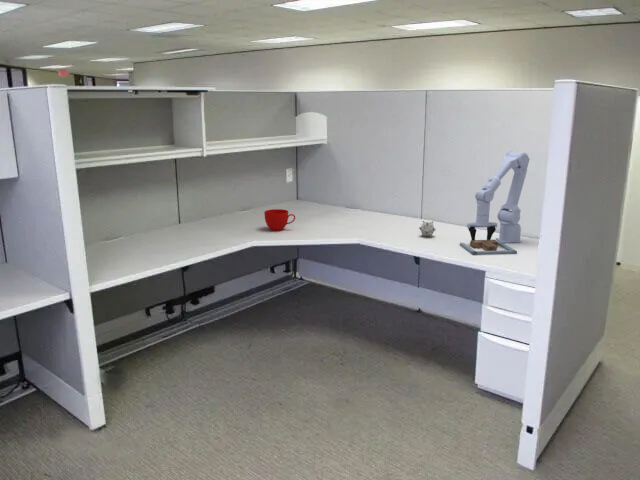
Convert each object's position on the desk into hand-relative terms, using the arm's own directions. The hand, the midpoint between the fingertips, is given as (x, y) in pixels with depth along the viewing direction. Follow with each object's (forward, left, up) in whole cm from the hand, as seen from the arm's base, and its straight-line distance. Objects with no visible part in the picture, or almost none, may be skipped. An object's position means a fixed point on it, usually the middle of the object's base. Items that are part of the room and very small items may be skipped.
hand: (480, 241), depth 264 cm
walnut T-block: (0, +8, -2) cm, 8 cm away
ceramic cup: (+96, -42, -2) cm, 105 cm away
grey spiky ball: (+21, -19, -2) cm, 28 cm away
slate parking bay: (0, +9, -2) cm, 9 cm away
